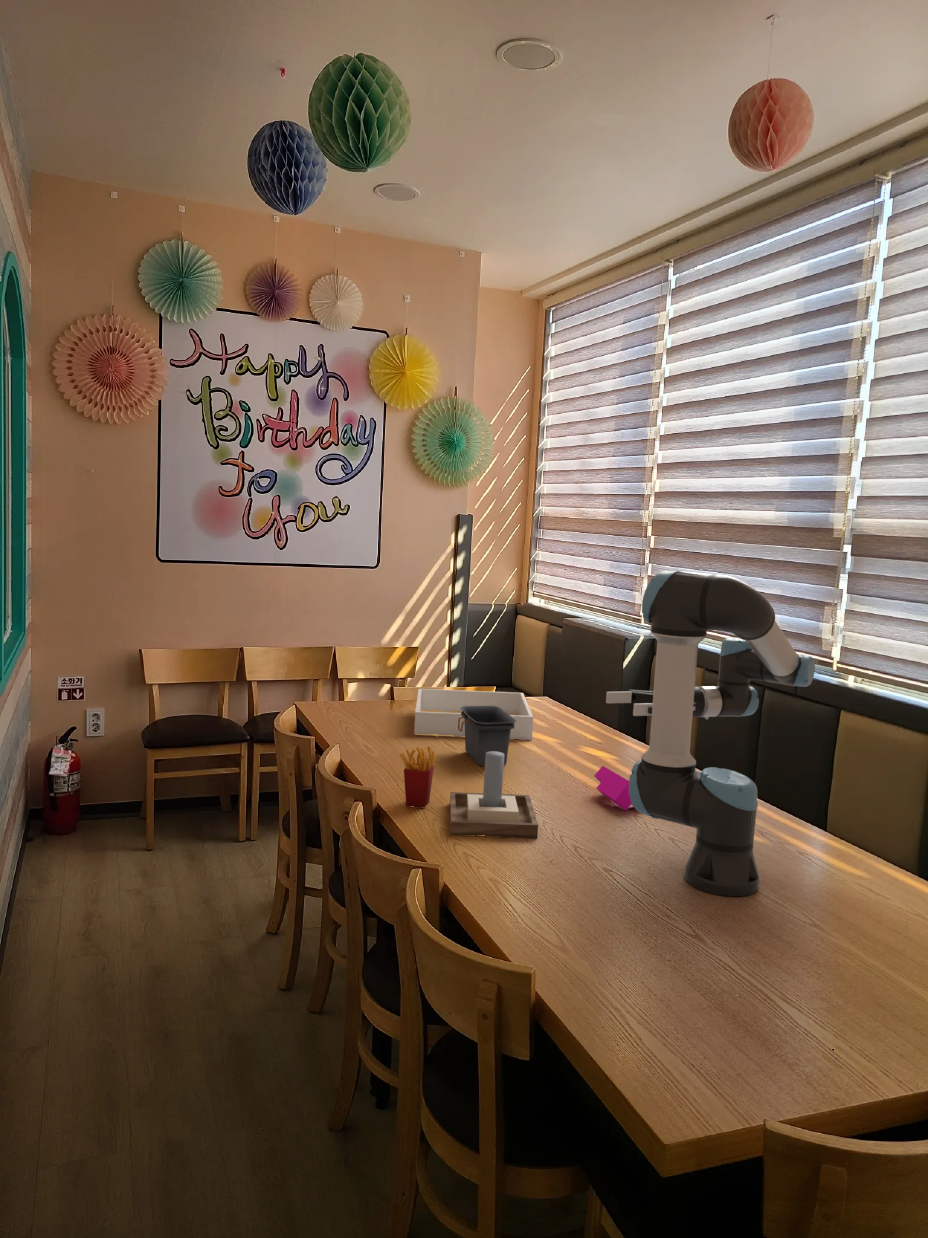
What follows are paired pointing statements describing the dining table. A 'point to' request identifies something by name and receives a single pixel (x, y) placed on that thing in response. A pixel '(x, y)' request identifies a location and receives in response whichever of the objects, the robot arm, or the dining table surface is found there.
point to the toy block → (614, 787)
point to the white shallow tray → (460, 698)
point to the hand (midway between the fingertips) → (619, 703)
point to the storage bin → (486, 731)
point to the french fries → (418, 777)
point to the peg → (493, 779)
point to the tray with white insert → (462, 826)
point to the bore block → (492, 810)
